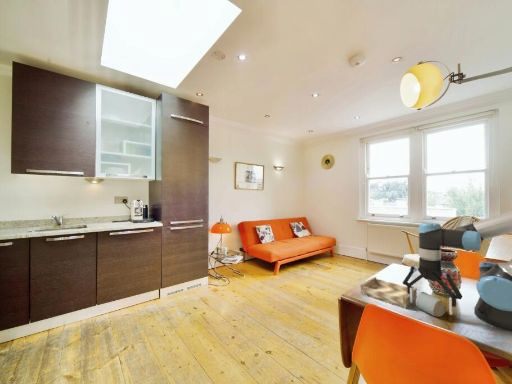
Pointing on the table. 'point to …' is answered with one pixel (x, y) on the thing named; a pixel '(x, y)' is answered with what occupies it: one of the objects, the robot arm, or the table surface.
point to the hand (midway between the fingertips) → (430, 307)
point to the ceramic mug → (430, 304)
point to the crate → (387, 292)
